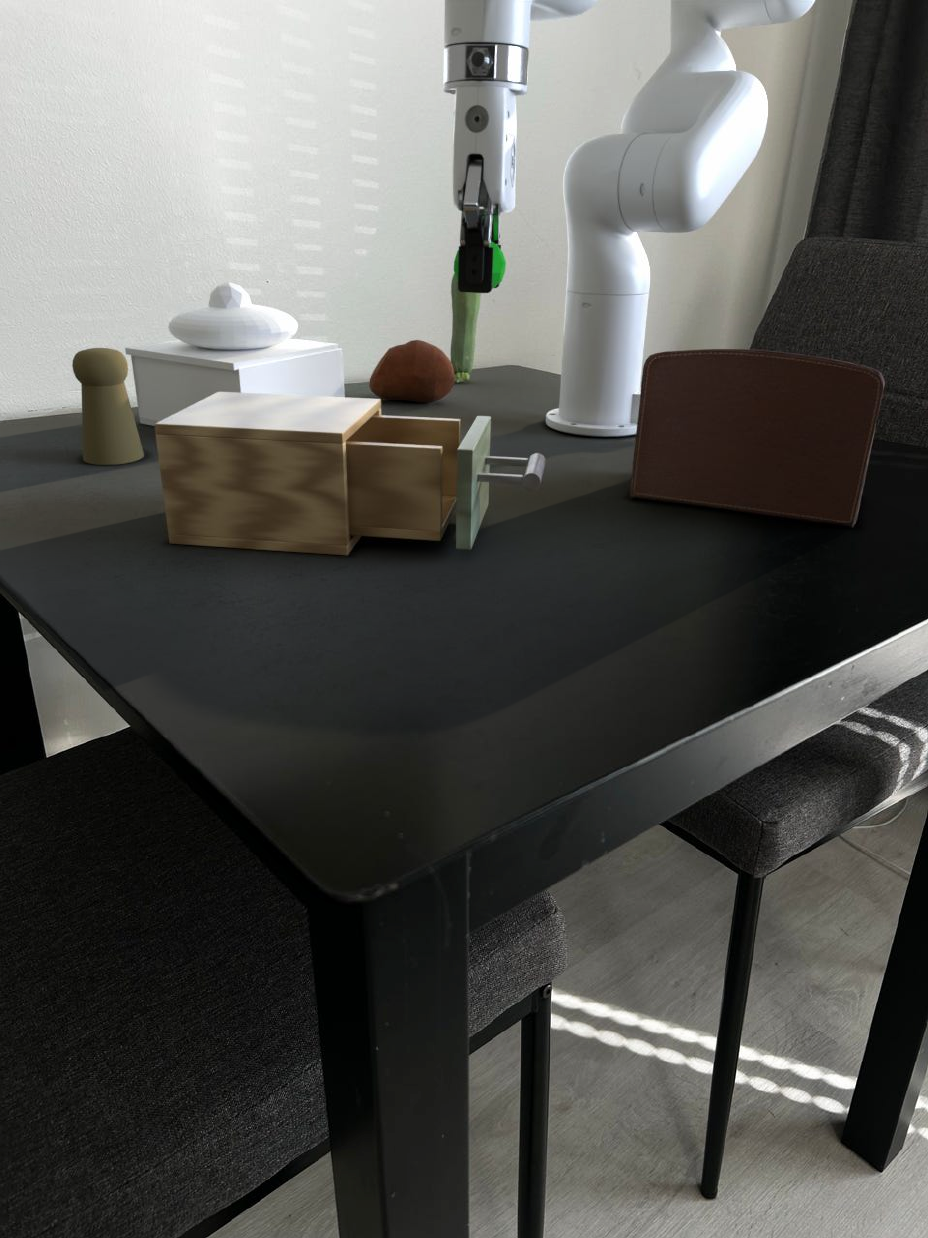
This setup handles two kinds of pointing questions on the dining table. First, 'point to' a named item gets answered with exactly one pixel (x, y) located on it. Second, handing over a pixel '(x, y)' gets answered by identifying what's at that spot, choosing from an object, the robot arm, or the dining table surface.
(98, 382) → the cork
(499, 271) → the polyhedron
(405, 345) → the potato
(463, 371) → the vegetable
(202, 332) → the butter dish
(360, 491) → the drawer
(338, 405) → the cabinet
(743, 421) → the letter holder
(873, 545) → the dining table surface
